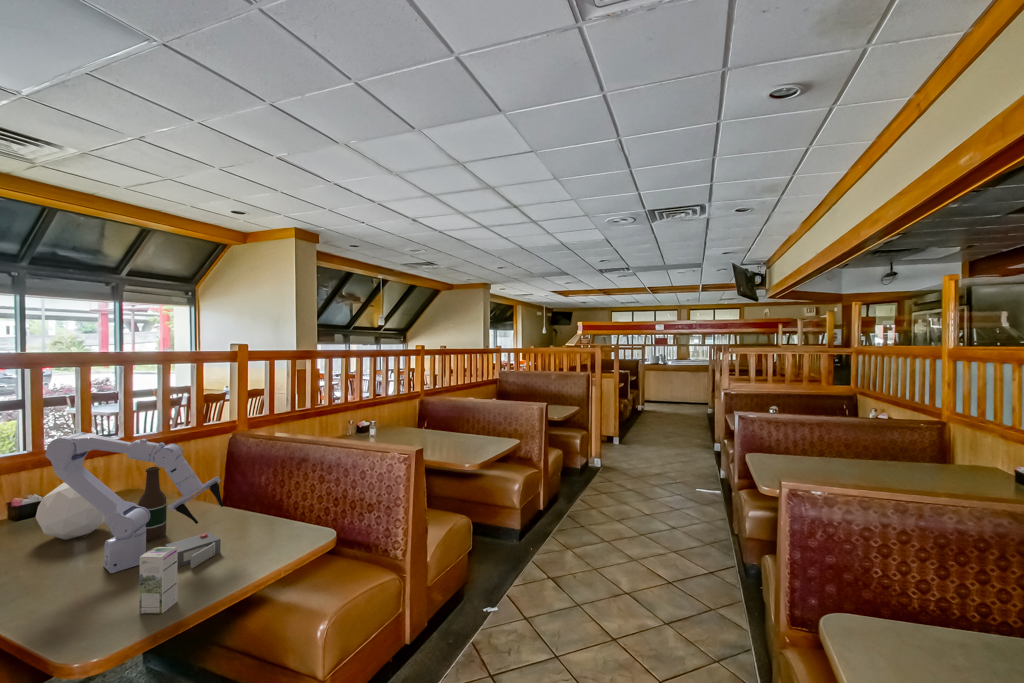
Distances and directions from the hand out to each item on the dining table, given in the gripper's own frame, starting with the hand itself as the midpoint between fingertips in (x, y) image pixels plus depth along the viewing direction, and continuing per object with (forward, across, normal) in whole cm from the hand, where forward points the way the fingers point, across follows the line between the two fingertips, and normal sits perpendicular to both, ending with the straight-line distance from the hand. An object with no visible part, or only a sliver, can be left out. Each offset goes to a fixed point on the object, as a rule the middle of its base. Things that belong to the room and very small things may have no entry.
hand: (210, 514), depth 143 cm
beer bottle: (-1, -16, +29) cm, 33 cm away
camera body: (+9, -9, +5) cm, 14 cm away
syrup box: (+10, -20, -23) cm, 32 cm away
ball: (-14, -32, +47) cm, 59 cm away
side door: (+11, -8, -2) cm, 13 cm away
